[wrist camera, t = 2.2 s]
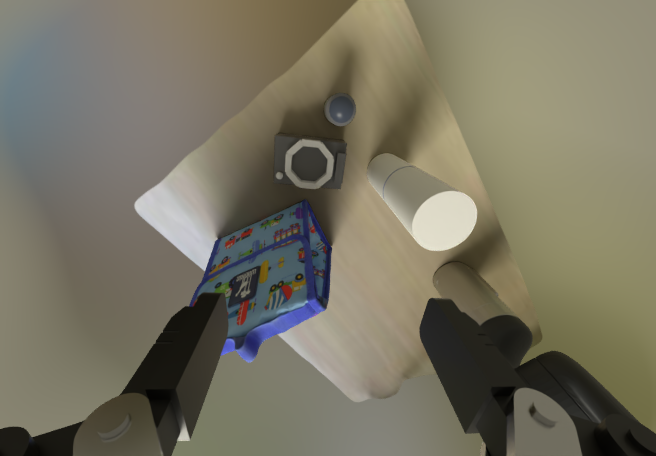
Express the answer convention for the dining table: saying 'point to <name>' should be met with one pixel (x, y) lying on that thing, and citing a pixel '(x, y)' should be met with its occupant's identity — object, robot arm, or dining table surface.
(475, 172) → the dining table surface
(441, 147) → the dining table surface
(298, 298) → the lunch bag
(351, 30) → the dining table surface
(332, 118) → the lens
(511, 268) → the dining table surface
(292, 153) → the camera body
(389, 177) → the cylindrical container
